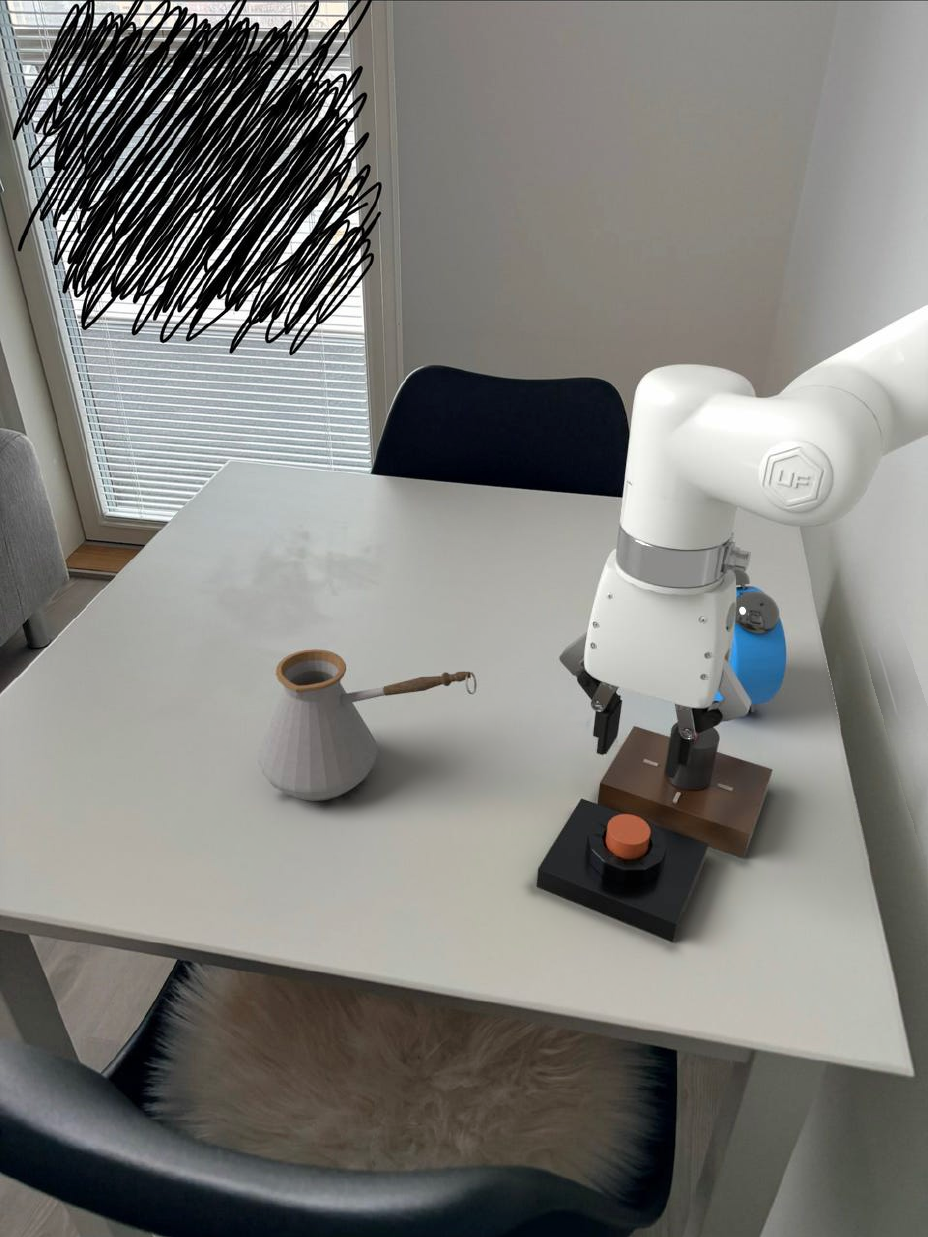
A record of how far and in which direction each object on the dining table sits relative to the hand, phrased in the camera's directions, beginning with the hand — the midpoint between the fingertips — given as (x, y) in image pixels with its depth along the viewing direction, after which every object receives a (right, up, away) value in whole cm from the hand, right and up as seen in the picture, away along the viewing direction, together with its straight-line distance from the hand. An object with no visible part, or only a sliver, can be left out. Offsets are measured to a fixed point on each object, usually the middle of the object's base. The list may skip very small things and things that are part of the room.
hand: (640, 754), depth 70 cm
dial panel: (+7, -7, +15) cm, 18 cm away
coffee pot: (-24, -6, +16) cm, 29 cm away
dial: (+7, -4, +14) cm, 16 cm away
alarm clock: (+15, +2, +30) cm, 34 cm away
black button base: (0, -12, +7) cm, 13 cm away
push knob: (0, -8, +5) cm, 10 cm away
